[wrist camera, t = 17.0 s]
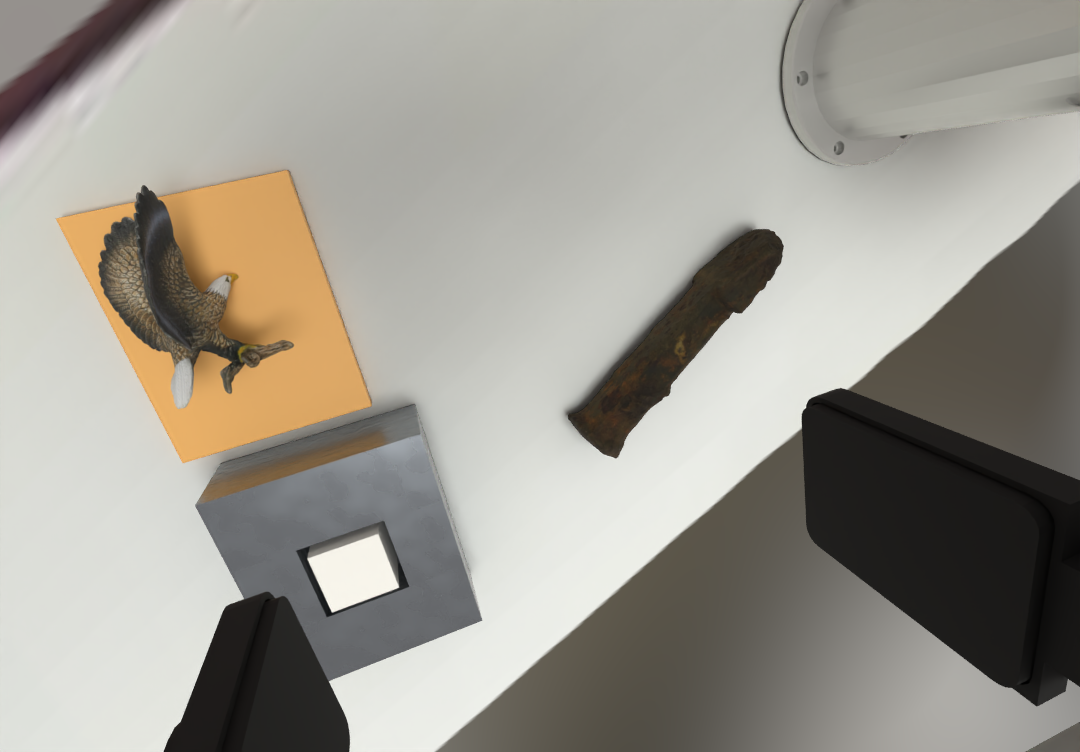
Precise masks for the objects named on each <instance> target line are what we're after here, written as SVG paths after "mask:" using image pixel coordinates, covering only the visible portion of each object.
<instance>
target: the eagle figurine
mask: <svg viewBox="0 0 1080 752" xmlns="http://www.w3.org/2000/svg"><path fill="white" fill-rule="evenodd" d="M136 199H137V202H135V205H134V206H135V210H136V213H134V220H132V219H131V218H129V217H123V218H122V220H121V222H113V223H112V225H111V233H110V234H108V233H107V234H105V236H104V245H105V247H106V250H102V251H101V252H100V256H101V259H102V261H101V262H99V264H98V268H99V276H100V278H101V282H100V284H101V286H102V287H103V289H104V292H103V293H104V295H105V296H106V297H107V298H108V300H109V302H110V304H111V305H112V307H113V309H114V310H115V311H116V312H118V313H119V316H120V317H121V318H122V320H123V321H124V323H125V324H126V325H127V326H128V327H130V329H131V331H132V332H133V333H134V334H135V335H136V337H137V338H139V339H141V340H142V342H143V343H145V344H147V345H149V347H150V348H152V349H156V350H157V351H159V352H160V351H164V352H170V353H171V356H172V359H173V363H174V367H175V373H174V375H173V377H172V380H171V391H172V394H173V397H174V403H175V404H176V407H177V408H178V409H181V408H185V407H187V405H188V403H189V401H190V398H191V397H192V394H193V384H194V365H195V363H196V360H197V358H198V355H199V353H200V351H201V350H202V351H206V352H211V353H214V354H217V355H218V356H219V357H223V358H225V359H228V360H229V361H230V362H231V363H230V364H229V365H228V366H226V367H225V368H223V369H222V370H221V372H220V375H221V377H222V380H223V386H224V389H225V391H226V392H227V393H229V394H231V393H232V384H231V383H232V382H233V380H234V376H235V375H236V374H238V373H239V371H240V370H241V369H242V367H243V366H244V365H245V364H246V365H247V366H249V367H250V368H254V367H257V366H258V365H259V363H260V361H261V360H263V359H266V358H268V357H270V356H272V355H274V354H276V353H278V352H280V351H286V350H289V349H291V348H293V347H294V344H293V343H292V342H290V341H286V340H281V341H279V342H276V343H274V344H268V345H267V346H264V345H260V344H247V343H241V342H239V341H238V340H233V339H229V338H228V337H227V336H226V335H225V334H224V333H222V332H221V330H220V328H219V322H220V320H221V319H222V317H223V315H224V312H225V310H226V305H227V300H228V295H229V291H230V289H231V286H232V283H233V282H234V281H235V280H236V279H238V278H239V277H238V275H237V274H228V275H223V276H221V277H219V278H217V279H216V280H214V281H213V282H212V283H211V285H210V286H209V287H208V288H207V289H206V291H205V292H203V293H202V292H201V291H200V290H199V289H198V288H197V287H196V286H195V285H194V284H193V282H192V281H191V279H190V277H189V275H188V273H187V270H186V266H185V261H184V258H183V254H182V252H181V250H180V248H179V246H178V245H177V243H176V241H175V238H174V233H173V226H172V222H171V219H170V216H169V213H168V210H167V208H166V206H165V204H164V202H163V201H161V200H158V198H157V197H156V195H155V194H154V193H153V192H152V191H149V190H148V188H147V187H146V186H144V185H143V186H142V188H141V193H137V195H136Z"/></svg>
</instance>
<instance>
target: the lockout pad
mask: <svg viewBox="0 0 1080 752" xmlns="http://www.w3.org/2000/svg"><path fill="white" fill-rule="evenodd" d="M157 198H158V200H161V201H163V202H164V204H165V206H166V208H167V210H168V213H169V216H170V219H171V222H172V226H173V233H174V238H175V241H176V243H177V245H178V246H179V248H180V250H181V252H182V254H183V258H184V261H185V266H186V270H187V273H188V275H189V277H190V279H191V281H192V282H193V284H194V285H195V286H196V287H197V288H198V289H199V290H200V291H201V292H202V293H203V292H205V291H206V289H207V288H208V287H209V286H210V285H211V283H212V282H213V281H214V280H216V279H217V278H219V277H221V276H223V275H228V274H237V275H238V277H239V278H238V279H236V280H235V281H234V282H233V283H232V286H231V289H230V291H229V295H228V300H227V305H226V310H225V312H224V315H223V317H222V319H221V320H220V322H219V328H220V330H221V332H222V333H224V334H225V335H226V336H227V337H228V338H229V339H233V340H238V341H239V342H241V343H247V344H260V345H264V346H267V345H268V344H274V343H276V342H279V341H281V340H286V341H290V342H292V343H293V344H294V347H293V348H291V349H289V350H286V351H280V352H278V353H276V354H274V355H272V356H270V357H268V358H266V359H263V360H261V361H260V363H259V365H258V366H257V367H254V368H250V367H249V366H247V365H246V364H245V365H244V366H243V367H242V369H241V370H240V371H239V373H238V374H236V375H235V376H234V380H233V382H232V383H231V384H232V393H231V394H229V393H227V392H226V391H225V389H224V386H223V380H222V377H221V375H220V372H221V370H222V369H223V368H225V367H226V366H228V365H229V364H230V363H231V362H230V361H229V360H228V359H225V358H223V357H219V356H218V355H217V354H214V353H211V352H206V351H202V350H201V351H200V353H199V355H198V358H197V360H196V363H195V365H194V384H193V394H192V397H191V398H190V401H189V403H188V405H187V407H185V408H181V409H178V408H177V407H176V404H175V403H174V397H173V394H172V391H171V380H172V377H173V375H174V373H175V367H174V363H173V359H172V356H171V353H170V352H164V351H160V352H159V351H157V350H156V349H152V348H150V347H149V345H147V344H145V343H143V342H142V340H141V339H139V338H137V337H136V335H135V334H134V333H133V332H132V331H131V329H130V327H128V326H127V325H126V324H125V323H124V321H123V320H122V318H121V317H120V316H119V313H118V312H116V311H115V310H114V309H113V307H112V305H111V304H110V302H109V300H108V298H107V297H106V296H105V295H104V293H103V292H104V289H103V287H102V286H101V284H100V282H101V278H100V276H99V268H98V264H99V262H101V261H102V259H101V256H100V252H101V251H102V250H106V247H105V245H104V236H105V234H107V233H108V234H110V233H111V225H112V223H113V222H121V220H122V218H123V217H129V218H131V219H132V220H134V213H136V210H135V206H134V205H135V202H133V203H128V204H123V205H119V206H114V207H109V208H104V209H100V210H95V211H90V212H85V213H81V214H76V215H71V216H66V217H62V218H57V219H56V220H57V222H58V224H59V226H60V228H61V230H62V232H63V234H64V236H65V237H66V239H67V241H68V243H69V245H70V247H71V249H72V251H73V253H74V255H75V257H76V259H77V261H78V262H79V264H80V266H81V268H82V270H83V272H84V274H85V276H86V278H87V280H88V282H89V284H90V286H91V288H92V289H93V291H94V293H95V295H96V297H97V299H98V301H99V303H100V305H101V307H102V309H103V311H104V313H105V314H106V316H107V318H108V320H109V322H110V324H111V326H112V328H113V330H114V332H115V334H116V336H117V338H118V339H119V341H120V343H121V345H122V347H123V349H124V351H125V353H126V355H127V357H128V359H129V361H130V363H131V364H132V366H133V368H134V370H135V372H136V374H137V376H138V378H139V380H140V382H141V384H142V386H143V388H144V390H145V391H146V393H147V395H148V397H149V399H150V401H151V403H152V405H153V407H154V409H155V411H156V413H157V415H158V416H159V418H160V420H161V422H162V424H163V426H164V428H165V430H166V432H167V434H168V436H169V438H170V440H171V441H172V443H173V445H174V447H175V449H176V451H177V453H178V455H179V457H180V459H181V461H182V463H185V462H188V461H192V460H195V459H198V458H202V457H205V456H208V455H212V454H215V453H218V452H222V451H225V450H228V449H231V448H235V447H238V446H241V445H245V444H248V443H251V442H255V441H258V440H261V439H265V438H268V437H271V436H275V435H278V434H281V433H284V432H288V431H291V430H294V429H298V428H301V427H304V426H308V425H311V424H314V423H318V422H321V421H324V420H328V419H331V418H334V417H337V416H341V415H344V414H347V413H351V412H354V411H357V410H361V409H364V408H367V407H371V406H372V401H371V399H370V396H369V393H368V390H367V387H366V385H365V382H364V379H363V376H362V373H361V371H360V368H359V365H358V362H357V360H356V357H355V354H354V351H353V348H352V346H351V343H350V340H349V337H348V334H347V332H346V329H345V326H344V323H343V320H342V318H341V315H340V312H339V309H338V306H337V304H336V301H335V298H334V295H333V293H332V290H331V287H330V284H329V281H328V279H327V276H326V273H325V270H324V267H323V265H322V262H321V259H320V256H319V253H318V251H317V248H316V245H315V242H314V239H313V237H312V234H311V231H310V228H309V226H308V223H307V220H306V217H305V214H304V212H303V209H302V206H301V203H300V200H299V198H298V195H297V192H296V189H295V186H294V184H293V181H292V178H291V175H290V172H289V171H288V170H285V171H280V172H275V173H271V174H266V175H261V176H256V177H252V178H247V179H242V180H237V181H233V182H228V183H223V184H218V185H214V186H209V187H204V188H199V189H195V190H190V191H185V192H180V193H176V194H171V195H166V196H161V197H157Z"/></svg>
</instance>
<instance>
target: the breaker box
mask: <svg viewBox="0 0 1080 752" xmlns="http://www.w3.org/2000/svg"><path fill="white" fill-rule="evenodd" d="M195 506H196V508H197V510H198V512H199V514H200V516H201V518H202V520H203V521H204V523H205V525H206V527H207V529H208V531H209V533H210V535H211V537H212V538H213V540H214V542H215V544H216V546H217V548H218V550H219V552H220V554H221V556H222V557H223V559H224V561H225V563H226V565H227V567H228V569H229V571H230V573H231V575H232V576H233V578H234V580H235V582H236V584H237V586H238V588H239V590H240V592H241V593H242V595H243V597H244V599H246V598H249V597H252V596H255V595H258V594H260V593H263V592H266V591H267V592H270V593H271V594H272V595H273V596H274V597H275V598H278V597H281V596H285V597H286V598H287V599H288V600H289V602H290V604H291V606H292V608H293V610H294V612H295V614H296V616H297V618H298V620H299V622H300V624H301V626H302V628H303V630H304V632H305V634H306V636H307V638H308V640H309V642H310V645H311V647H312V649H313V651H314V653H315V655H316V657H317V659H318V661H319V663H320V665H321V667H322V669H323V671H324V673H325V675H326V677H327V679H328V681H330V680H333V679H335V678H338V677H340V676H343V675H345V674H348V673H350V672H353V671H355V670H358V669H361V668H363V667H366V666H368V665H371V664H373V663H376V662H378V661H381V660H383V659H386V658H388V657H391V656H393V655H396V654H399V653H401V652H404V651H406V650H409V649H411V648H414V647H416V646H419V645H421V644H424V643H426V642H429V641H432V640H434V639H437V638H439V637H442V636H444V635H447V634H449V633H452V632H454V631H457V630H459V629H462V628H464V627H467V626H470V625H472V624H475V623H477V622H480V621H482V618H481V614H480V610H479V606H478V602H477V598H476V594H475V590H474V586H473V582H472V578H471V574H470V571H469V568H468V565H467V562H466V559H465V556H464V553H463V549H462V546H461V543H460V540H459V537H458V534H457V531H456V528H455V525H454V522H453V519H452V516H451V513H450V510H449V507H448V504H447V501H446V497H445V494H444V491H443V488H442V485H441V482H440V479H439V476H438V473H437V470H436V467H435V464H434V461H433V458H432V455H431V452H430V449H429V445H428V442H427V439H426V436H425V433H424V430H423V427H422V424H421V421H420V418H419V415H418V412H417V409H416V406H415V404H414V405H411V406H407V407H404V408H401V409H398V410H394V411H391V412H388V413H385V414H381V415H378V416H375V417H371V418H368V419H365V420H362V421H358V422H355V423H352V424H349V425H345V426H342V427H339V428H335V429H332V430H329V431H326V432H322V433H319V434H316V435H313V436H309V437H306V438H303V439H300V440H296V441H293V442H290V443H286V444H283V445H280V446H277V447H273V448H270V449H267V450H264V451H260V452H257V453H254V454H250V455H247V456H244V457H241V458H237V459H234V460H231V461H228V462H224V463H221V464H220V466H219V467H218V469H217V471H216V472H215V474H214V476H213V477H212V479H211V480H210V482H209V484H208V485H207V487H206V489H205V490H204V492H203V494H202V495H201V497H200V498H199V500H198V502H197V503H196V505H195ZM381 521H384V522H385V524H386V527H387V530H388V532H389V535H390V537H391V540H392V543H393V545H394V548H395V550H396V553H397V558H398V576H399V588H397V589H394V590H391V591H389V592H386V593H383V594H381V595H378V596H375V597H373V598H370V599H367V600H365V601H362V602H359V603H356V604H354V605H351V606H348V607H346V608H343V609H340V610H338V611H335V612H332V611H331V609H330V607H329V605H328V603H327V601H326V598H325V596H324V594H323V592H322V590H321V587H320V585H319V583H318V581H317V579H316V576H315V574H314V572H313V570H312V568H311V566H310V563H309V561H308V559H307V558H308V553H309V548H310V546H311V545H314V544H317V543H320V542H323V541H326V540H328V539H331V538H334V537H337V536H340V535H343V534H346V533H349V532H352V531H355V530H357V529H360V528H363V527H366V526H369V525H372V524H375V523H378V522H381Z"/></svg>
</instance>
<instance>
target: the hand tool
mask: <svg viewBox="0 0 1080 752" xmlns="http://www.w3.org/2000/svg"><path fill="white" fill-rule="evenodd" d="M783 247H784V246H783V244H782V241H781V239H780V238H779V237H778V236H777V235H776V234H775V232H774V231H770V230H769V229H756V230H753V231H752V230H751V231H750V232H748V233H746V234H745V235H743V236H741V237H740V238H739V239H737V240H736V241H735V242H733V243H732V244H730V245H729V246H728V247H726V248H725V249H724V250H722V251H721V252H720V253H719V254H718V255H717V257H715V258H714V259H713V260H712V261H711V262H709V263H708V264H707V265H706V266H705V267H703V268H702V269H701V270H700V271H699V272H698V273H697V274H696V275H695V276H694V278H693V286H692V288H691V289H690V290H689V291H688V292H687V293H686V295H685V296H684V297H683V298H682V299H681V300H680V301H679V302H678V303H677V304H676V305H675V306H674V308H673V309H672V310H671V311H670V312H669V313H668V314H667V315H666V316H665V317H664V319H663V320H661V321H660V322H659V323H658V324H657V325H656V326H655V327H654V328H653V329H652V331H651V332H650V334H649V335H648V336H647V338H646V339H645V340H644V341H643V342H642V343H641V344H640V346H639V347H638V348H637V349H636V350H635V351H634V352H633V353H632V354H631V355H630V356H629V357H628V358H627V359H626V360H625V361H624V363H623V364H622V365H621V366H620V367H619V368H618V369H617V370H616V371H615V372H614V373H613V375H612V377H611V378H610V379H609V381H608V382H607V383H606V384H605V385H604V386H603V387H602V389H601V390H600V391H599V392H598V394H597V395H596V396H595V397H594V398H593V400H592V401H591V402H590V403H589V404H588V405H587V406H586V407H585V408H584V409H583V410H581V411H580V412H578V413H572V414H569V415H568V419H569V420H570V421H571V422H572V424H573V426H575V428H576V429H577V430H578V431H579V433H580V434H581V435H582V436H583V437H584V438H585V439H586V440H587V441H588V442H589V443H591V444H592V445H593V446H594V447H596V448H597V449H598V450H599V451H600V452H601V453H602V454H605V455H607V456H611V457H614V458H617V457H618V456H619V454H620V451H621V450H622V448H623V446H624V441H625V439H626V437H627V436H628V434H629V433H630V432H631V430H632V429H633V428H634V427H635V426H636V425H637V424H638V422H639V421H640V420H641V419H642V417H643V416H644V415H645V414H646V413H647V411H648V410H649V409H650V408H651V407H653V406H654V405H656V404H657V403H658V402H660V401H662V399H663V398H664V397H665V396H669V394H670V389H671V384H672V383H673V382H674V381H675V380H676V379H677V377H678V376H679V374H680V373H681V372H682V371H683V370H684V369H685V368H686V366H687V365H688V364H689V363H690V362H691V361H692V360H693V359H694V357H695V356H696V355H697V354H698V352H699V351H700V350H701V349H702V348H703V347H704V346H705V345H706V343H707V342H708V341H709V340H710V338H711V337H712V336H713V335H714V333H715V332H716V331H717V330H718V328H719V327H720V326H721V325H722V324H723V323H724V322H725V321H726V320H727V319H729V317H730V315H731V314H732V313H733V312H735V313H742V312H743V311H744V310H745V309H746V308H747V307H748V306H749V305H750V304H751V303H752V301H753V299H754V298H755V296H756V295H757V294H758V292H759V291H761V290H763V289H764V288H765V286H766V284H767V281H769V280H771V278H772V277H773V275H774V274H775V270H776V269H777V267H778V266H779V265H780V264H781V260H782V252H783Z"/></svg>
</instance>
